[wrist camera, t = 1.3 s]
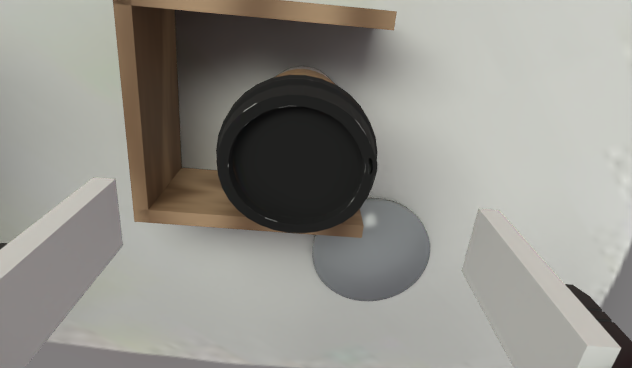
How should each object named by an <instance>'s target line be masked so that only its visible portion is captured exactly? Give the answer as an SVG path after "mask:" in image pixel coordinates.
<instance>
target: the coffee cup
mask: <svg viewBox="0 0 632 368" xmlns="http://www.w3.org/2000/svg"><path fill="white" fill-rule="evenodd" d="M216 153H217V170H218V177H219V180H220V183H221V186H222V189H223V190H224V192H225V194H226V196H227V198H228V199H229V201H230V202H231V203H232V204H233V205H234V206H235V208H236V209H237V210H238V211H239V212H241V213H242V214H243V215H244V216H246V217H247V218H248V219H250V220H252V221H253V222H255V223H257V224H259V225H261V226H264V227H267V228H270V229H272V230H276V231H282V232H287V233H310V232H318V231H322V230H326V229H329V228H332V227H334V226H337V225H339V224H341V223H343V222H345V221H346V220H348V219H349V218H351V217H352V216H353V215H354V214H355V213H356V212H357V211H358V210H359V209H360V208H361V207H362V205H363V204H364V202H365V200H366V199H367V197H368V195H369V193H370V190H371V188H372V185H373V182H374V179H375V176H376V172H377V146H376V139H375V135H374V132H373V129H372V127H371V124H370V122H369V120H368V118H367V116H366V115H365V113H364V111H363V110H362V108H361V106H360V105H359V104H358V103H357V102H356V101H355V100H354V99H353V98H352V96H351V95H350V94H348V93H347V92H345V91H344V90H343V89H341V88H340V87H338V86H337V85H335V84H334V83H333V82H332V81H331V80H330V79H329V78H328V77H327V75H325V74H324V73H322V72H321V71H319V70H317V69H314V68H311V67H307V66H298V67H292V68H290V69H287V70H285V71H283V72H282V73H280V74H279V75H277V76H276V77H274V78H271V79H269V80H266V81H264V82H262V83H259V84H257V85H256V86H254V87H253V88H251V89H250V90H248V91H247V92H245V93H244V94H243V95H242V96H241V97H240V98H239V99H238V100H237V101H236V103H235V104H234V105H233V107H232V108H231V110H230V111H229V113H228V115H227V116H226V118H225V120H224V121H223V124H222V127H221V130H220V132H219V135H218V142H217V149H216Z"/></svg>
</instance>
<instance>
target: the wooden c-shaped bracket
mask: <svg viewBox="0 0 632 368" xmlns="http://www.w3.org/2000/svg"><path fill="white" fill-rule="evenodd" d="M113 6H114V16H115V27H116V37H117V47H118V57H119V67H120V78H121V88H122V98H123V108H124V118H125V129H126V139H127V149H128V159H129V169H130V179H131V190H132V200H133V210H134V220H135V222H148V223H162V224H175V225H189V226H203V227H217V228H230V229H244V230H258V231H271V232H282V231H276V230H272V229H270V228H267V227H264V226H261V225H259V224H257V223H255V222H253V221H252V220H250V219H248V218H247V217H246V216H244V215H243V214H242V213H241V212H239V211H238V210H237V209H236V208H235V206H234V205H233V204H232V203H231V202H230V201H229V199H228V198H227V196H226V194H225V192H224V190H223V189H222V186H221V183H220V180H219V177H218V170H205V169H193V168H182V164H181V141H180V118H179V96H178V73H177V50H176V28H175V10H186V11H196V12H207V13H217V14H228V15H238V16H249V17H259V18H270V19H281V20H291V21H302V22H312V23H323V24H333V25H344V26H355V27H365V28H376V29H386V30H394V26H395V19H396V13H397V12H396V11H386V10H376V9H365V8H355V7H345V6H334V5H324V4H314V3H303V2H293V1H283V0H113ZM363 227H364V225H363V221H362V216H361V212H360V209H359V210H358V211H357V212H356V213H355V214H354V215H353V216H352V217H351V218H349V219H348V220H346V221H345V222H343V223H341V224H339V225H337V226H334V227H332V228H329V229H326V230H322V231H318V232H310V233H299V234H313V235H326V236H340V237H354V238H362V234H363ZM285 233H287V232H285Z"/></svg>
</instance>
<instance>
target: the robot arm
mask: <svg viewBox="0 0 632 368" xmlns="http://www.w3.org/2000/svg"><path fill="white" fill-rule="evenodd" d="M122 246H123V241H122V233H121V224H120V215H119V206H118V197H117V189H116V180H115V179H110V178H98V177H93V178H92V179H91V180H89V181H88V182H87V183H85V184H84V185H83V186H82V187H80V188H79V189H78V190H76V191H75V192H74V193H72V194H71V195H70V196H69V197H67V198H66V199H65V200H63V201H62V202H61V203H60V204H58V205H57V206H56V207H54V208H53V209H52V210H51V211H49V212H48V213H47V214H45V215H44V216H43V217H42V218H40V219H39V220H38V221H36V222H35V223H34V224H33V225H31V226H30V227H29V228H27V229H26V230H25V231H24V232H22V233H21V234H20V235H18V236H17V237H16V238H15V239H13V240H12V241H11V242H9V243H1V244H0V368H25V367H26V365H27V364H28V363H29V362H30V360H31V359H32V358H33V357H34V355H35V354H36V353H37V352H38V350H39V349H40V348H41V347H42V346H43V344H44V343H45V342H46V341H47V339H48V338H49V337H50V336H51V334H52V333H53V332H54V331H55V329H56V328H57V327H58V326H59V324H60V323H61V322H62V321H63V319H64V318H65V317H66V316H67V314H68V313H69V312H70V311H71V309H72V308H73V307H74V306H75V304H76V303H77V302H78V301H79V299H80V298H81V297H82V296H83V294H84V293H85V292H86V291H87V289H88V288H89V287H90V286H91V284H92V283H93V282H94V281H95V279H96V278H97V277H98V276H99V274H100V273H101V272H102V271H103V269H104V268H105V267H106V266H107V265H108V263H109V262H110V261H111V260H112V258H113V257H114V256H115V255H116V253H117V252H118V251H119V250H120V248H121V247H122ZM462 273H463V275H464V276H465V278H466V280H467V282H468V284H469V286H470V288H471V289H472V291H473V293H474V295H475V297H476V299H477V300H478V302H479V304H480V306H481V308H482V310H483V312H484V313H485V315H486V317H487V319H488V321H489V323H490V324H491V326H492V328H493V330H494V332H495V334H496V336H497V337H498V339H499V341H500V343H501V345H502V347H503V348H504V350H505V352H506V354H507V356H508V358H509V359H510V361H511V363H512V365H513V367H514V368H632V341H631V340H630V339H629V338H628V337H627V336H626V335H625V334H624V333H623V332H622V331H621V330H620V328H619V327H618V326H617V325H616V324H615V323H613V322H611V319H610V318H609V317H608V316H607V314H605V312H602V309H601V308H600V307H599V306H598V305H597V304H596V303H595V302H594V301H593V299H592V298H591V297H590V296H588V295H587V294H585V293H584V292H582V291H581V290H580V289H578V288H577V287H575V286H574V285H569V284H564V283H563V282H562V280H561V279H560V278H559V277H558V276H557V275H556V274H555V272H554V271H553V270H552V269H551V268H550V267H549V266H548V265H547V263H546V262H545V261H544V260H543V259H542V258H541V257H540V256H539V254H538V253H537V252H536V251H535V250H534V249H533V248H532V247H531V245H530V244H529V243H528V242H527V241H526V240H525V239H524V237H523V236H522V235H521V234H520V233H519V232H518V231H517V230H516V228H515V227H514V226H513V225H512V224H511V223H510V222H509V221H508V219H507V218H506V217H505V216H504V215H503V214H502V213H501V211H500V210H493V209H481V208H479V209H478V213H477V216H476V220H475V223H474V227H473V231H472V234H471V238H470V242H469V245H468V249H467V253H466V256H465V260H464V264H463V267H462Z"/></svg>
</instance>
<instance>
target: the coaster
mask: <svg viewBox="0 0 632 368" xmlns="http://www.w3.org/2000/svg"><path fill="white" fill-rule="evenodd" d="M360 212H361V216H362V221H363V225H364V227H363V234H362V238H354V237H340V236H326V235H315V238H314V242H313V263H314V266H315V269H316V272H317V274H318V276H319V277H320V279H321V280H322V281H323V282H324V284H325V285H326V286H328V287H329V288H330V289H331V290H333V291H334V292H336V293H337V294H339V295H341V296H344V297H346V298H349V299H354V300H359V301H377V300H382V299H387V298H390V297H393V296H395V295H397V294H399V293H401V292H403V291H405V290H406V289H408V288H409V287H410V286H411V285H413V284H414V283H415V282H416V281H417V279H418V278H419V277H420V276H421V274H422V273H423V271H424V269H425V267H426V265H427V263H428V259H429V254H430V243H429V237H428V234H427V232H426V230H425V228H424V226H423V224H422V222H421V221H420V219H419V218H418V217H417V216H416V215H415V214H414V213H413V212H412V211H411V210H409V209H408V208H406V207H405V206H403V205H401V204H399V203H396V202H394V201H390V200H385V199H373V198H371V199H366V200H365V202H364V204H363V205H362V207H361V208H360Z"/></svg>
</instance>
